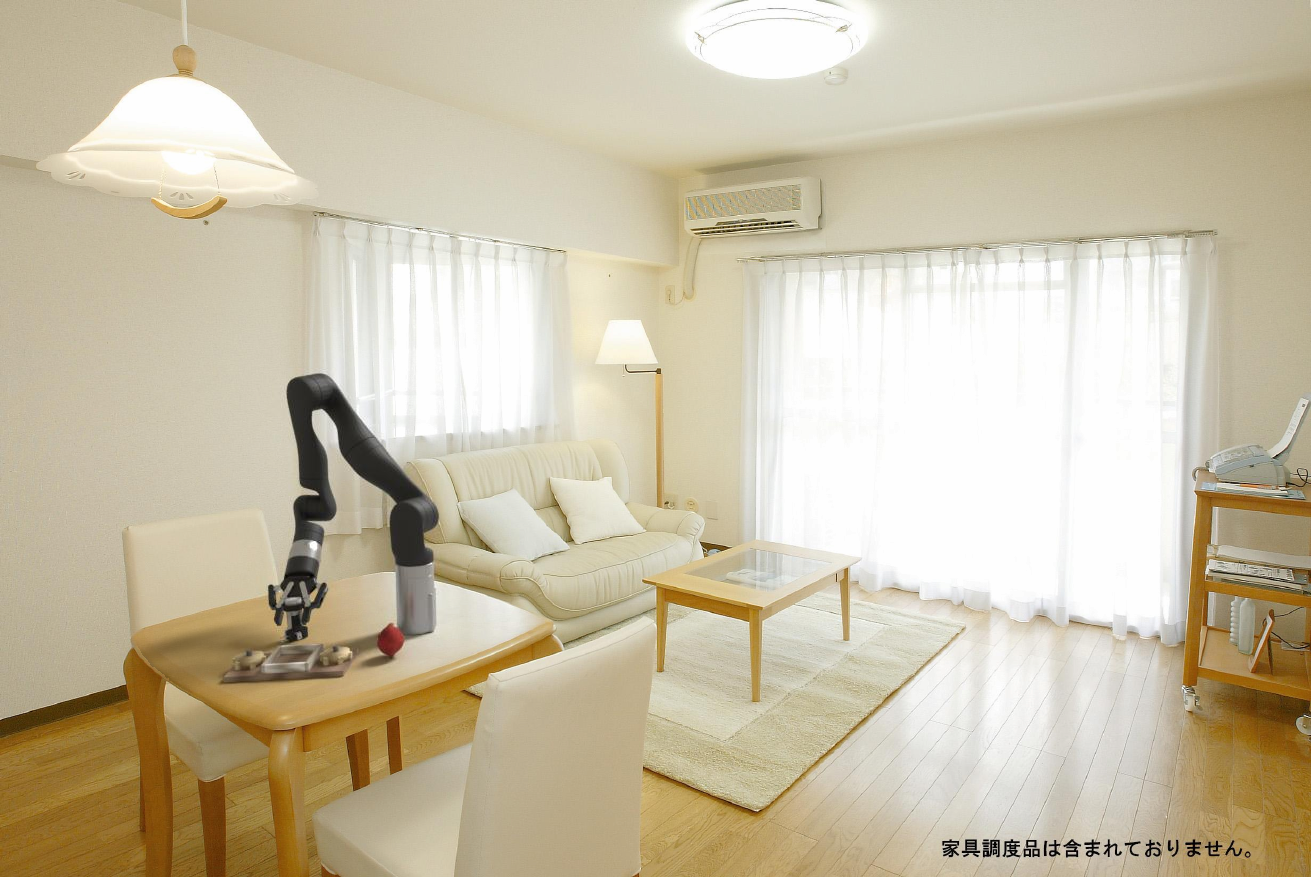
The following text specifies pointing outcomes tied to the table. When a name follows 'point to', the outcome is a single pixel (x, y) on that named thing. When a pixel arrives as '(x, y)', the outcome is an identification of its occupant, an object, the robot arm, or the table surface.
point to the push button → (294, 619)
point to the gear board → (291, 663)
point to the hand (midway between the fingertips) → (291, 623)
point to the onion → (390, 640)
